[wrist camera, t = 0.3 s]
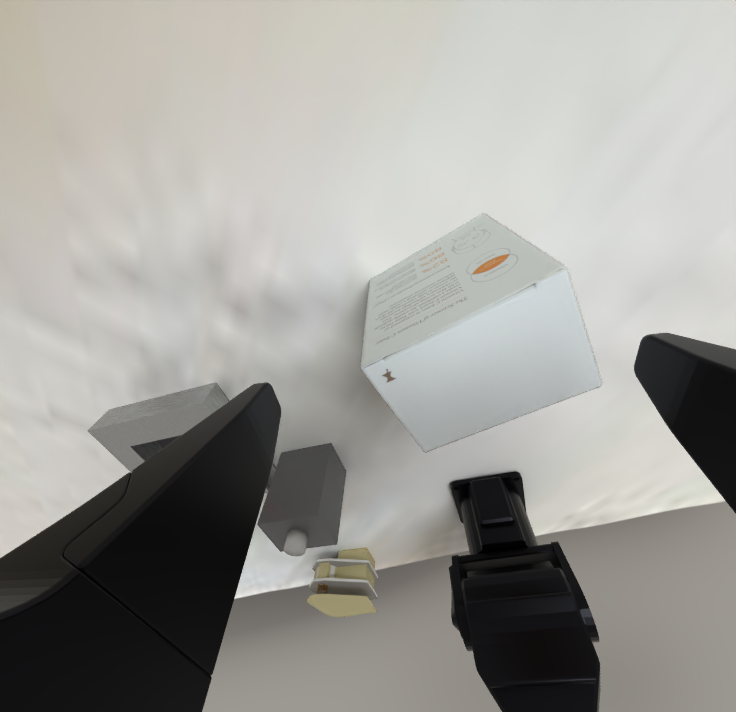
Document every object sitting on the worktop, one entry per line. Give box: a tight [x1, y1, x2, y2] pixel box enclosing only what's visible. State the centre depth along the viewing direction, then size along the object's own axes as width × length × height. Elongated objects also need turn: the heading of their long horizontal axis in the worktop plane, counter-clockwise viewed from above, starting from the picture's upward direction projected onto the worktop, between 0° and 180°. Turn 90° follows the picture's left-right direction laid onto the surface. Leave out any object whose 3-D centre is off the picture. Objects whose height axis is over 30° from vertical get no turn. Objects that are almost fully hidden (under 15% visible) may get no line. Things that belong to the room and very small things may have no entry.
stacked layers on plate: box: [307, 548, 394, 617], centre depth 39 cm, size 10×9×6 cm
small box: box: [360, 213, 602, 452], centre depth 17 cm, size 8×6×10 cm
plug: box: [257, 443, 346, 556], centre depth 28 cm, size 4×5×8 cm
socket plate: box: [88, 383, 276, 493], centre depth 29 cm, size 11×11×3 cm
